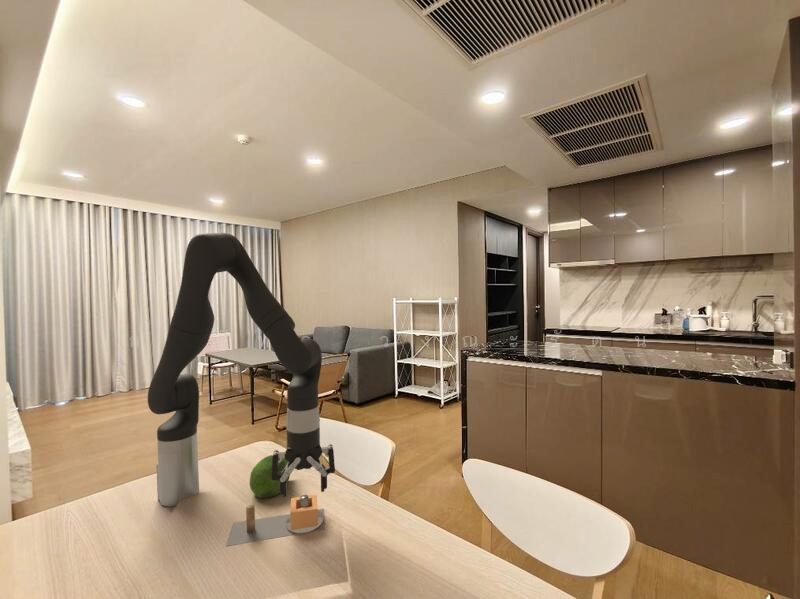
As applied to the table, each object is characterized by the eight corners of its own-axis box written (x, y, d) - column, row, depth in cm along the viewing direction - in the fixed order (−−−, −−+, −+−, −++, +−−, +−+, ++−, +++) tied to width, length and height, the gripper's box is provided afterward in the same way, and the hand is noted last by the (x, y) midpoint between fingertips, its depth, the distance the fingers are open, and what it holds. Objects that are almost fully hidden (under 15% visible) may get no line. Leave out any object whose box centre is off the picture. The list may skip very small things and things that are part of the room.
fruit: (267, 476, 111) (266, 443, 111) (299, 477, 110) (298, 444, 110) (241, 506, 96) (240, 469, 95) (279, 508, 95) (278, 470, 95)
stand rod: (246, 533, 83) (245, 509, 83) (247, 528, 85) (246, 505, 85) (254, 532, 84) (253, 508, 83) (255, 527, 85) (255, 503, 85)
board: (225, 552, 79) (225, 546, 79) (233, 529, 87) (232, 522, 87) (325, 535, 84) (325, 529, 84) (323, 514, 92) (323, 508, 92)
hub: (284, 537, 82) (284, 510, 82) (286, 513, 90) (286, 489, 90) (324, 530, 84) (323, 504, 84) (322, 508, 92) (322, 484, 92)
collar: (290, 530, 83) (290, 512, 83) (291, 514, 89) (291, 498, 89) (317, 525, 85) (317, 508, 85) (317, 510, 91) (316, 494, 91)
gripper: (269, 434, 81) (270, 506, 82) (335, 428, 85) (336, 497, 85) (272, 422, 88) (273, 488, 89) (333, 416, 92) (333, 480, 93)
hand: (304, 492), depth 87 cm, fingers open, 8 cm apart
